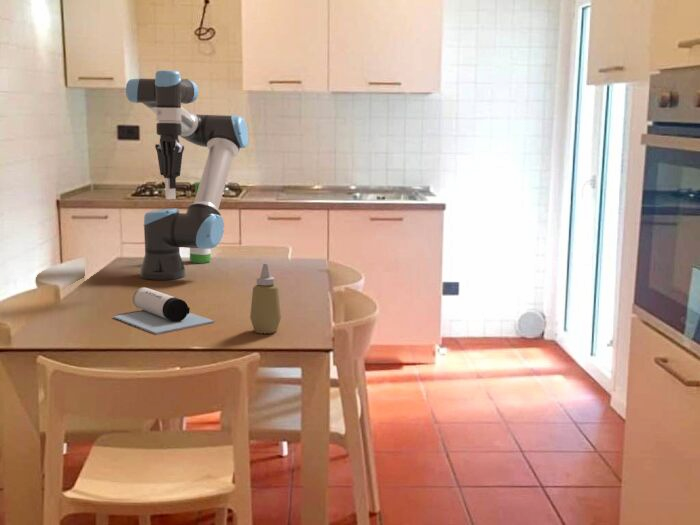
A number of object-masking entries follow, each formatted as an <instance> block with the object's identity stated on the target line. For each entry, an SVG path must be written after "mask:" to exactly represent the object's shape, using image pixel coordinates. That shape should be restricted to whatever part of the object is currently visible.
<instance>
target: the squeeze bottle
mask: <svg viewBox="0 0 700 525" xmlns="http://www.w3.org/2000/svg"><path fill="white" fill-rule="evenodd" d="M275 283H276V280H275V277H274V276H272V275H271V271H270V268H269V263H263V264H262V268H261V274H260V276H257V277H256V285H254V286H253V287H252V294H251V295H252V296H251V307H250V315H249V316H250V317H249V319H250V321H251V325H252V327H253V331H254V332H255V333H258V334H263V333H264V335H265V334H267V333H268V334H274V333H275V332H277V330H278V328H279V326H280V323H281V319H282V313H281V302H280V292H279V291H280V290H279V287H278V286H277V285H276V284H275Z"/></svg>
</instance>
